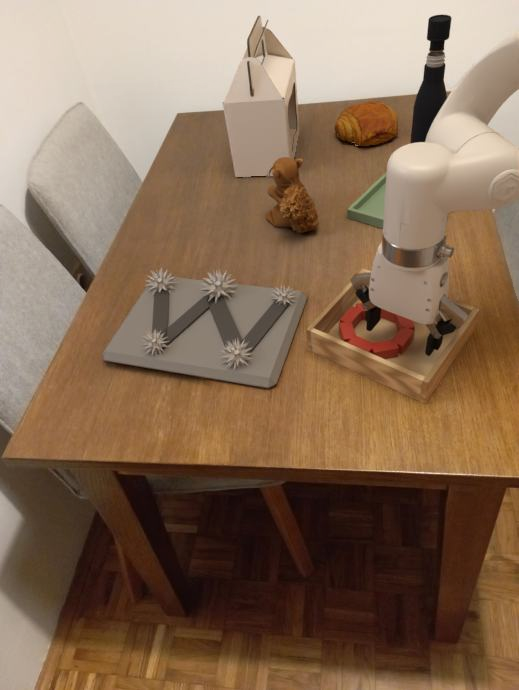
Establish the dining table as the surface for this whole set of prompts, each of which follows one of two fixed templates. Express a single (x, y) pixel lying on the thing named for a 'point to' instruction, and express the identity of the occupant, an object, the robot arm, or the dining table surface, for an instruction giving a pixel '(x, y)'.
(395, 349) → the ring
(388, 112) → the croissant
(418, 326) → the crate
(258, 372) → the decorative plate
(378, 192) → the tray
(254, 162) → the gable box
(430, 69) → the wine bottle
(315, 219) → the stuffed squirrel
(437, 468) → the dining table surface
